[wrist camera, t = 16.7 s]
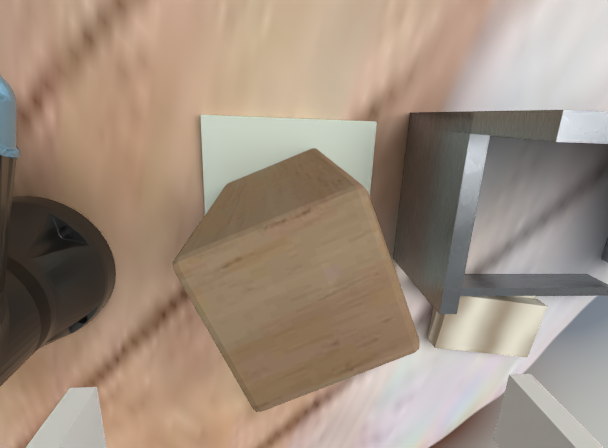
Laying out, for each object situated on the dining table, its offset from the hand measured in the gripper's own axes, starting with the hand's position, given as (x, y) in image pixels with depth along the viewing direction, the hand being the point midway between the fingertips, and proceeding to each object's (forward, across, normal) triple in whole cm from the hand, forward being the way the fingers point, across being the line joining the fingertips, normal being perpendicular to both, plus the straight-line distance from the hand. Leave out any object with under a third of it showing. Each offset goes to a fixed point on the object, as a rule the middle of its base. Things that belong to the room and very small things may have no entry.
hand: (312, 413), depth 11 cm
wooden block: (+27, 0, 0) cm, 27 cm away
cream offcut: (+27, +24, -14) cm, 38 cm away
